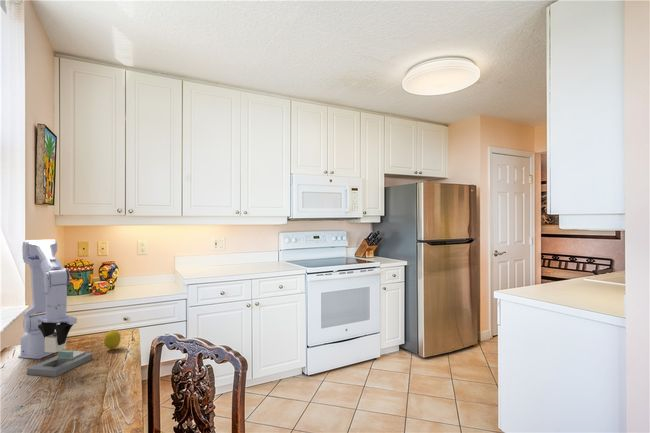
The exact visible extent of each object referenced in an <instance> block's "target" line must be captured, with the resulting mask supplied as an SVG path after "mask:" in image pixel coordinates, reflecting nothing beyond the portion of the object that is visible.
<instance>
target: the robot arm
mask: <svg viewBox="0 0 650 433" xmlns="http://www.w3.org/2000/svg"><path fill="white" fill-rule="evenodd" d="M21 247H22V250H21V251H22V252H21V253H22V260H23V263H24V264H25V263H26V264H28V266H29V268H30V269H29V270H30V278H31V279H30V280H31V283H30V284H31V297H32V298H31V300H32V306H31V307H30V308H29V309H27V310H25V312H24V313H23V321H22V328H23V331H24V333H23V334H22V336H21V338H20V355H18V356H17V357H18V358H23V359H24V358H25V359H26V358H27V359H36V360H40V359H42V358H45V357H47V356H50V355H53V354H54V353H53V352H45V337H47V336H49V335H52V334H53V333H54V332H56V333H57V342H58V345H62V344H64V343H65V341H66V342H67V338H68V335H69V332H70V331H71V329H72V327H73V326H74V325H75V324H77V323H78V322H77V321H78V319H77V317H75V316H74V317H73V316H70V315H67V304H68V303H67V302H68V301H67V298H68V297H67V296H68V295H67V294H68V290H67V289H68V285H69V284H70V281H71V277H70V276H71V275H70V271H69V269H68V268H65V267H63V264H62V263H61V260H60V259H59V258H57V257H55V256H56V254H57V252H58V242H57V240H56V239H54V238H53V239H30V240H29V239H25V240H24V241H23V242H22V246H21Z"/></svg>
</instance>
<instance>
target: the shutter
mask: <svg viewBox="0 0 650 433" xmlns="http://www.w3.org/2000/svg"><path fill="white" fill-rule="evenodd" d="M85 353H87V352H86V351H83V350H64V349H63V350H60V351H58V352H57V355H58V356H57V355H56V356H57V359H69V360H72V359H74V358H76V357H78V356H81V355H83V354H85Z"/></svg>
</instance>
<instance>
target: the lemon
mask: <svg viewBox="0 0 650 433" xmlns="http://www.w3.org/2000/svg"><path fill="white" fill-rule="evenodd" d="M103 343H104V347H105V348H106V349H110V350H111V351H112V350H113V351H114V349H115V348H117V347H118V346H119V345H120V343H121V334H120V333H119V331H117V330H114V329H111V330H109V331H107V333H106V334H105V335H104V339H103Z"/></svg>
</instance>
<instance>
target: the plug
mask: <svg viewBox="0 0 650 433" xmlns="http://www.w3.org/2000/svg"><path fill="white" fill-rule="evenodd" d="M64 349H67V340H66V341H65V343H64V344H62V345H58V342H57V333H56V331H55V332H54V333H53V334H52V335H49V336H47V337H45V352H53V353H52V354H54V353H58V351H60V350H64Z"/></svg>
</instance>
